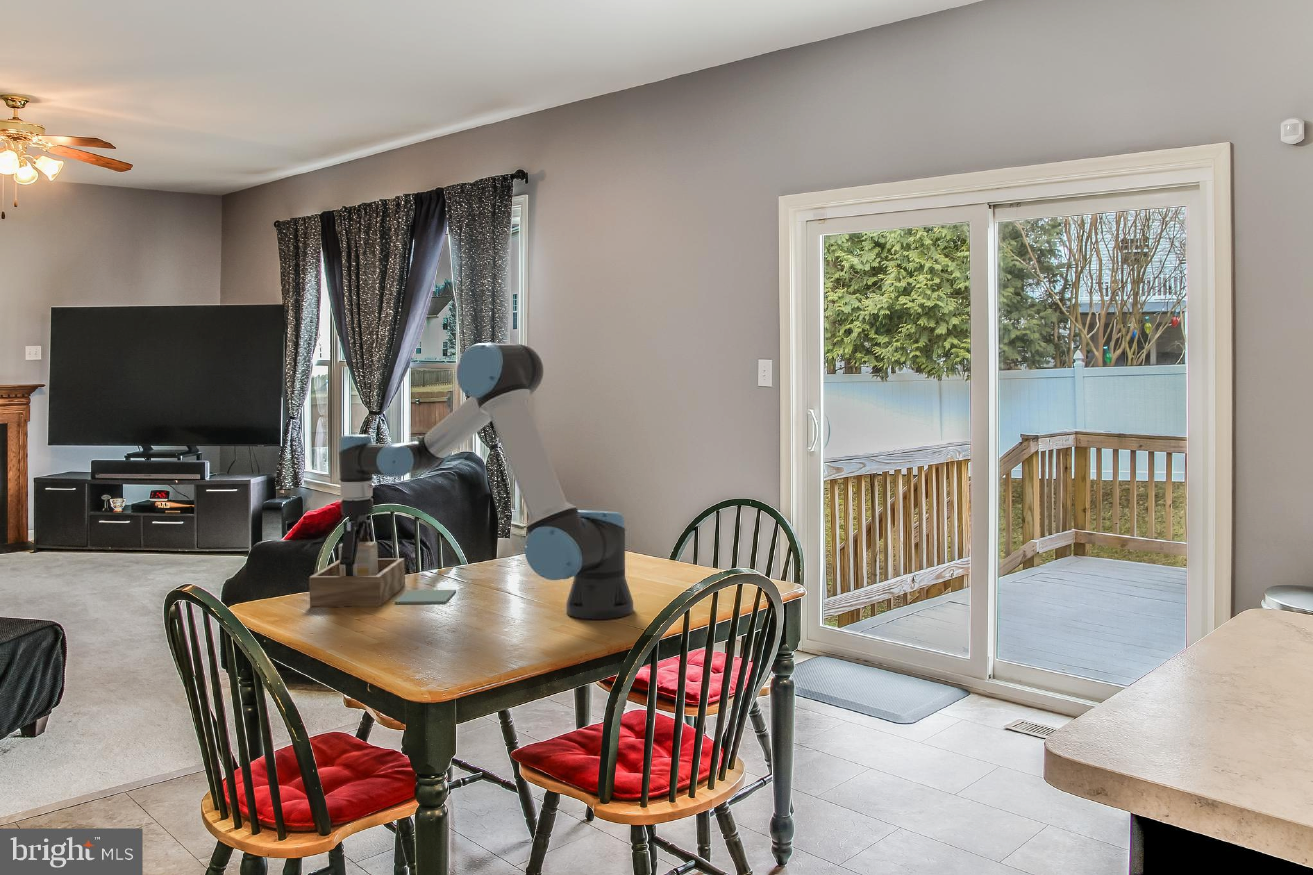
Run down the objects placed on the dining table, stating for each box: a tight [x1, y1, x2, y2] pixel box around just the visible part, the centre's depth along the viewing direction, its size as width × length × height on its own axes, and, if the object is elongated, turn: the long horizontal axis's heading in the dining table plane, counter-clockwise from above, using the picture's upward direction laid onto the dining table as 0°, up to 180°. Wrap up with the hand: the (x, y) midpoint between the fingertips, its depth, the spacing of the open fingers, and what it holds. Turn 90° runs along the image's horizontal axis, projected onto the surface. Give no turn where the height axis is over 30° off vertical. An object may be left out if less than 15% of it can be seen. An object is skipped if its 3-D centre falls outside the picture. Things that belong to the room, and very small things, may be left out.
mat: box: [394, 589, 457, 605], centre depth 234 cm, size 12×12×1 cm
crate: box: [308, 557, 406, 608], centre depth 237 cm, size 22×16×7 cm
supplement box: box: [338, 541, 379, 576], centre depth 237 cm, size 8×5×13 cm, turn 84°
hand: (359, 585), depth 237 cm, fingers open, 12 cm apart
